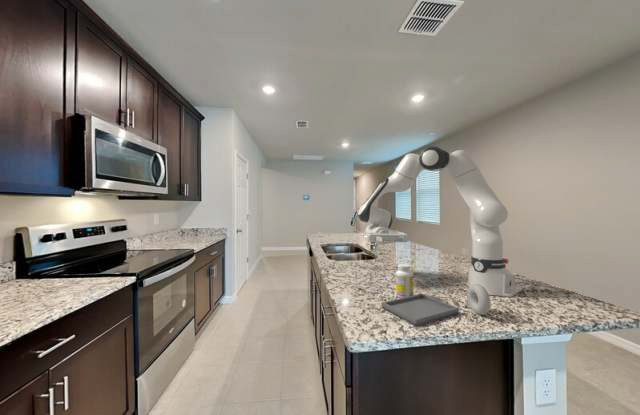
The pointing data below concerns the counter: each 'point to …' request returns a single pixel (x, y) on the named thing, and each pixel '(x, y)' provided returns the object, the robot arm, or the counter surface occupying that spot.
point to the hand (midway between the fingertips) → (393, 240)
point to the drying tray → (419, 309)
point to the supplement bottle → (404, 281)
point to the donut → (478, 299)
